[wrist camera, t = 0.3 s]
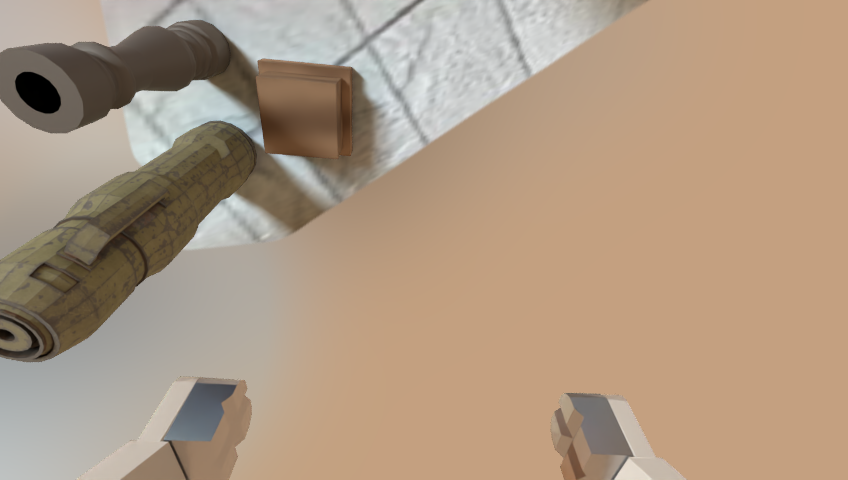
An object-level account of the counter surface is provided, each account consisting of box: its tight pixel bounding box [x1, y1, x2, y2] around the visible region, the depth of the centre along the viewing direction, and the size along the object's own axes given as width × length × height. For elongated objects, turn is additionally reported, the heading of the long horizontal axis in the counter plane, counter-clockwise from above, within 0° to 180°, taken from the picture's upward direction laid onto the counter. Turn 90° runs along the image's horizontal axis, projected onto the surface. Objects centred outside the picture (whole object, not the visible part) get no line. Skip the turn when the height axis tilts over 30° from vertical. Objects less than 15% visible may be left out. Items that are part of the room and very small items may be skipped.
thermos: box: [0, 121, 257, 362], centre depth 40 cm, size 9×12×35 cm
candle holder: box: [0, 20, 230, 133], centre depth 38 cm, size 6×6×25 cm
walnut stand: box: [256, 59, 352, 159], centre depth 50 cm, size 11×11×6 cm
